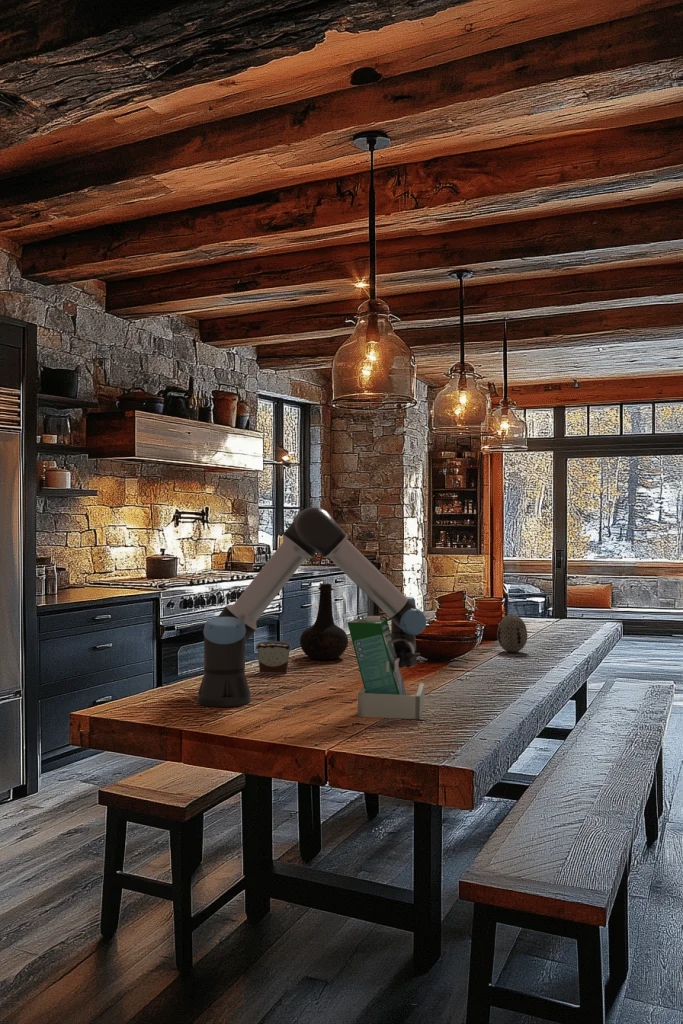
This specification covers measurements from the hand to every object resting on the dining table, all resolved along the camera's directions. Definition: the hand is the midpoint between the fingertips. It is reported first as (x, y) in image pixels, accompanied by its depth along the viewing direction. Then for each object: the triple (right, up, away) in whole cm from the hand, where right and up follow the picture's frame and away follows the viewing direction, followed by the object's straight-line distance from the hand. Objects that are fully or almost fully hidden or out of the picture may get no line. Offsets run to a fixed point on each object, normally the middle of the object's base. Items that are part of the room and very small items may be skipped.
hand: (391, 666), depth 223 cm
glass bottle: (-20, -13, +87) cm, 91 cm away
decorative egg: (+54, -14, +104) cm, 118 cm away
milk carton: (0, -12, +5) cm, 13 cm away
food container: (-36, -13, +60) cm, 71 cm away
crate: (0, -13, +4) cm, 13 cm away
